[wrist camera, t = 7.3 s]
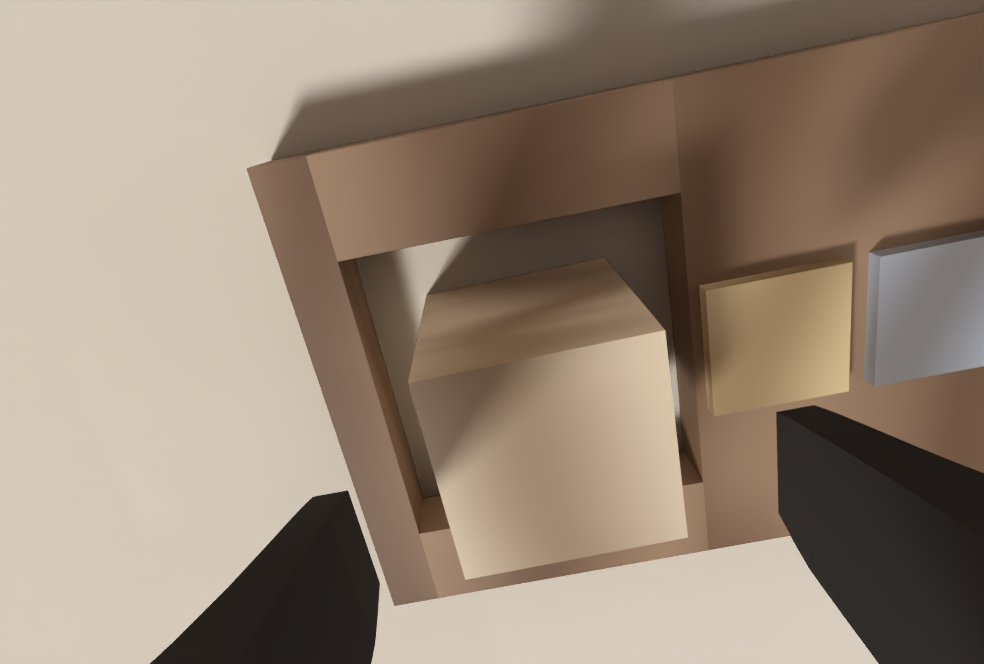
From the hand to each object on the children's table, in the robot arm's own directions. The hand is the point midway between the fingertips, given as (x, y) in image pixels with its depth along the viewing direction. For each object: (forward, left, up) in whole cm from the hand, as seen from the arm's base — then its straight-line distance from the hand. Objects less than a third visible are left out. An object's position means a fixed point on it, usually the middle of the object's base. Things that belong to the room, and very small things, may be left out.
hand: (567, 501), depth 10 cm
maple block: (0, 0, -6) cm, 6 cm away
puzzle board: (-7, 0, -6) cm, 9 cm away
